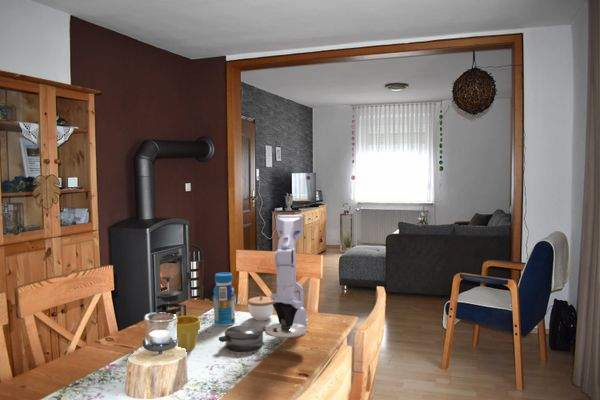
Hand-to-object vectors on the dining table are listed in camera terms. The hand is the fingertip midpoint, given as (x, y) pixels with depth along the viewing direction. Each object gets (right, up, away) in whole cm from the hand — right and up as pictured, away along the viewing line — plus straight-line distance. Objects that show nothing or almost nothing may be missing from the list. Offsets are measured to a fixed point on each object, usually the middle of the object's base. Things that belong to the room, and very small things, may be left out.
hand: (285, 324), depth 167 cm
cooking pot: (-15, -9, +6) cm, 18 cm away
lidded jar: (-11, -7, +37) cm, 40 cm away
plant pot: (-35, -9, +5) cm, 36 cm away
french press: (-42, -9, +14) cm, 45 cm away
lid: (0, -2, 0) cm, 2 cm away
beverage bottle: (-25, -8, +31) cm, 41 cm away
